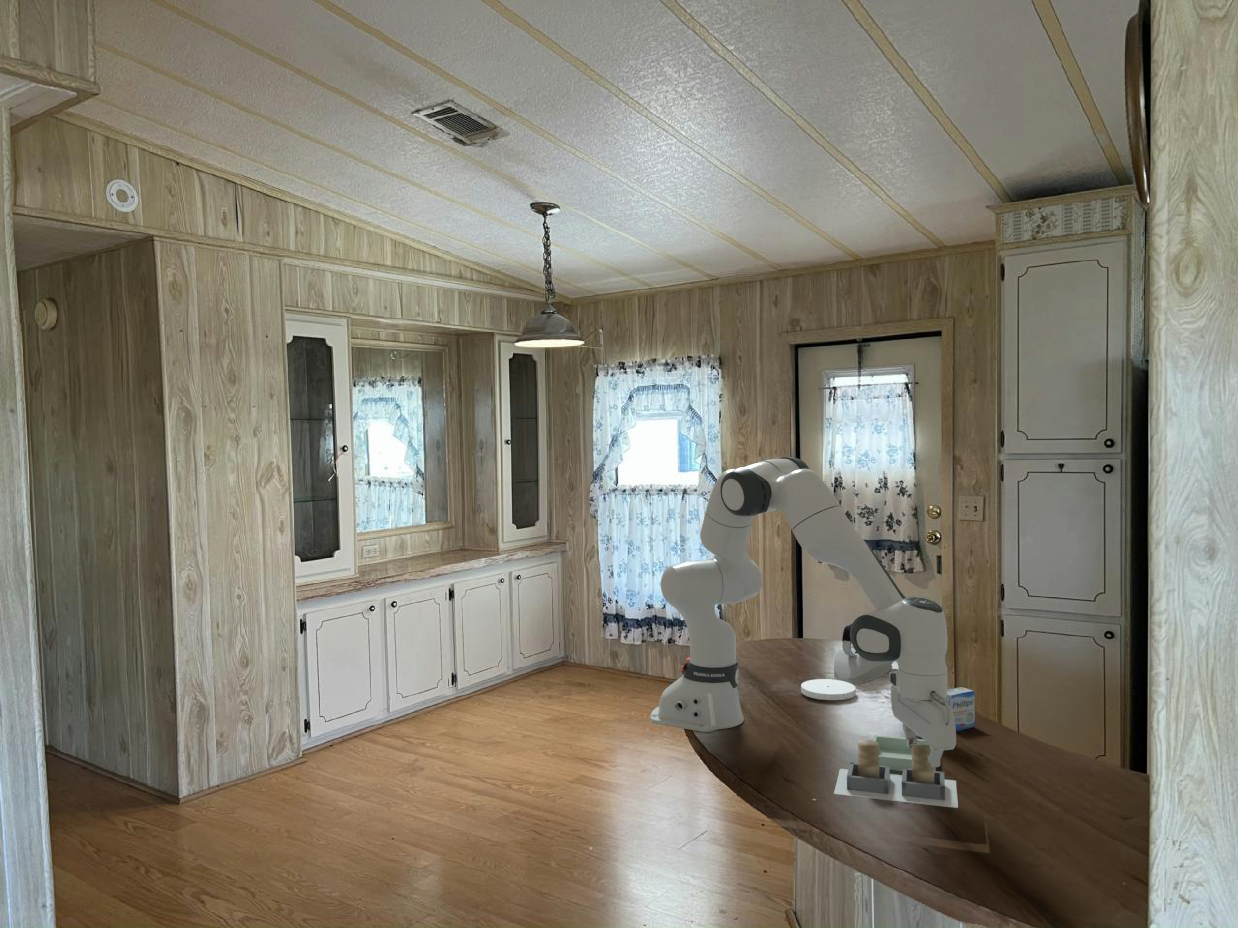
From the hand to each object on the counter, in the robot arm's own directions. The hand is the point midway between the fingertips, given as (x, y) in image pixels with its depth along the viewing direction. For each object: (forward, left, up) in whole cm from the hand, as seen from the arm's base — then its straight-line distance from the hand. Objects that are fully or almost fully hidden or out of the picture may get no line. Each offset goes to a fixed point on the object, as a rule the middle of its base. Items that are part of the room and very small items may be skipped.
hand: (922, 756), depth 169 cm
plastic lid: (-24, +60, -8) cm, 65 cm away
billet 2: (0, 0, -6) cm, 6 cm away
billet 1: (-10, 0, -6) cm, 12 cm away
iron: (-16, +82, -8) cm, 84 cm away
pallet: (-5, 0, -7) cm, 9 cm away
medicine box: (+7, +42, -8) cm, 43 cm away
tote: (-4, +15, -7) cm, 17 cm away
